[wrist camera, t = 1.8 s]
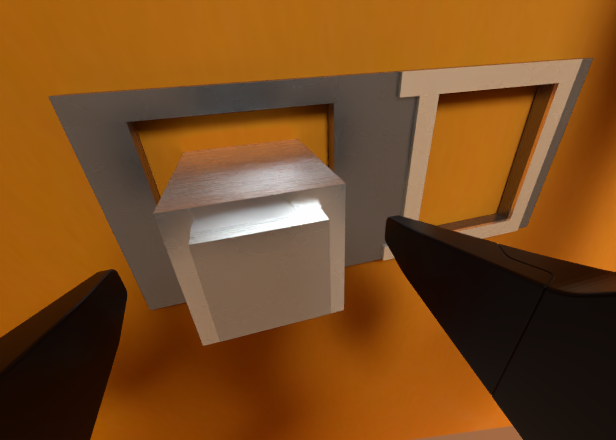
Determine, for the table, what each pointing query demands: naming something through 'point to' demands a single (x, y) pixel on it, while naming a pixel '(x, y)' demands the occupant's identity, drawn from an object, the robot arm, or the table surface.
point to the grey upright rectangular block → (255, 237)
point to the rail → (342, 149)
